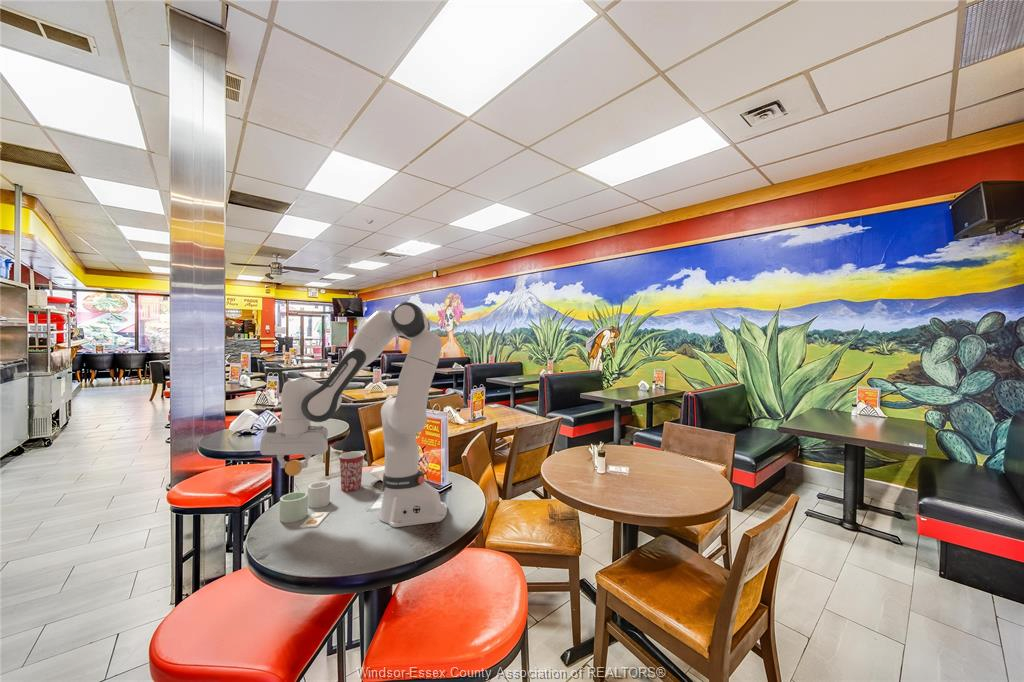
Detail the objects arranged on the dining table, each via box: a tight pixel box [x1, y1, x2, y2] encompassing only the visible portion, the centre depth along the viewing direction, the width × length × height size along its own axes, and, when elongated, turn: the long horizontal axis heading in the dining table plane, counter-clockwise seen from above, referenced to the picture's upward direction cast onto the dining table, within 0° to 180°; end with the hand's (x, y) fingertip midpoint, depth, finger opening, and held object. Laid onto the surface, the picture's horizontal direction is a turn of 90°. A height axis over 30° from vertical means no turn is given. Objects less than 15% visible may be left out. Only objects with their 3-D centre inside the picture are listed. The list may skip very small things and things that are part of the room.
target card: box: [299, 511, 330, 529], centre depth 120 cm, size 5×10×1 cm, turn 6°
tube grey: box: [307, 481, 331, 509], centre depth 133 cm, size 7×7×7 cm
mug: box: [338, 451, 365, 493], centre depth 149 cm, size 13×9×14 cm
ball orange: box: [284, 459, 303, 477], centre depth 123 cm, size 5×5×5 cm
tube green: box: [279, 491, 309, 524], centre depth 122 cm, size 8×8×7 cm
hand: (293, 467), depth 123 cm, fingers closed on ball orange, 5 cm apart
